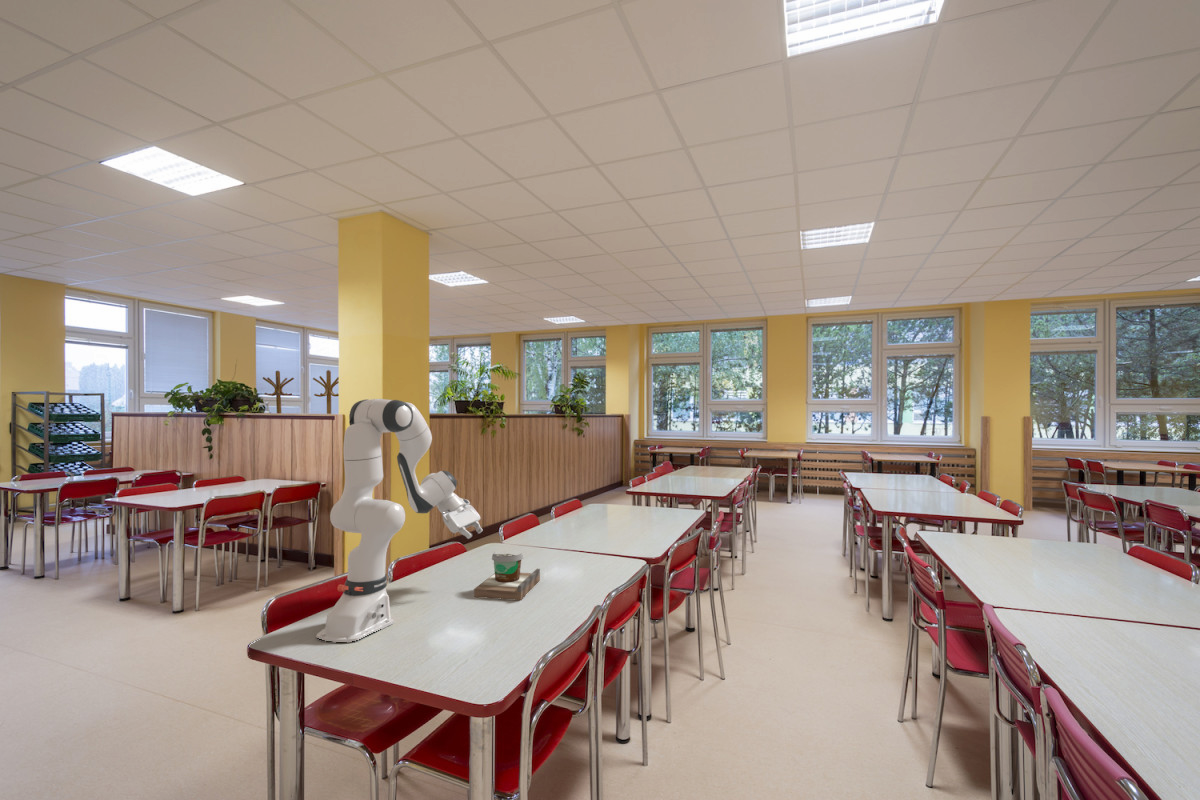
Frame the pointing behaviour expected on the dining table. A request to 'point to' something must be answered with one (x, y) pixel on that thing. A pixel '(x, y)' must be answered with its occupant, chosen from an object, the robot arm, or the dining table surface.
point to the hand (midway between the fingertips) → (475, 534)
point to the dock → (508, 587)
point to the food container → (507, 567)
